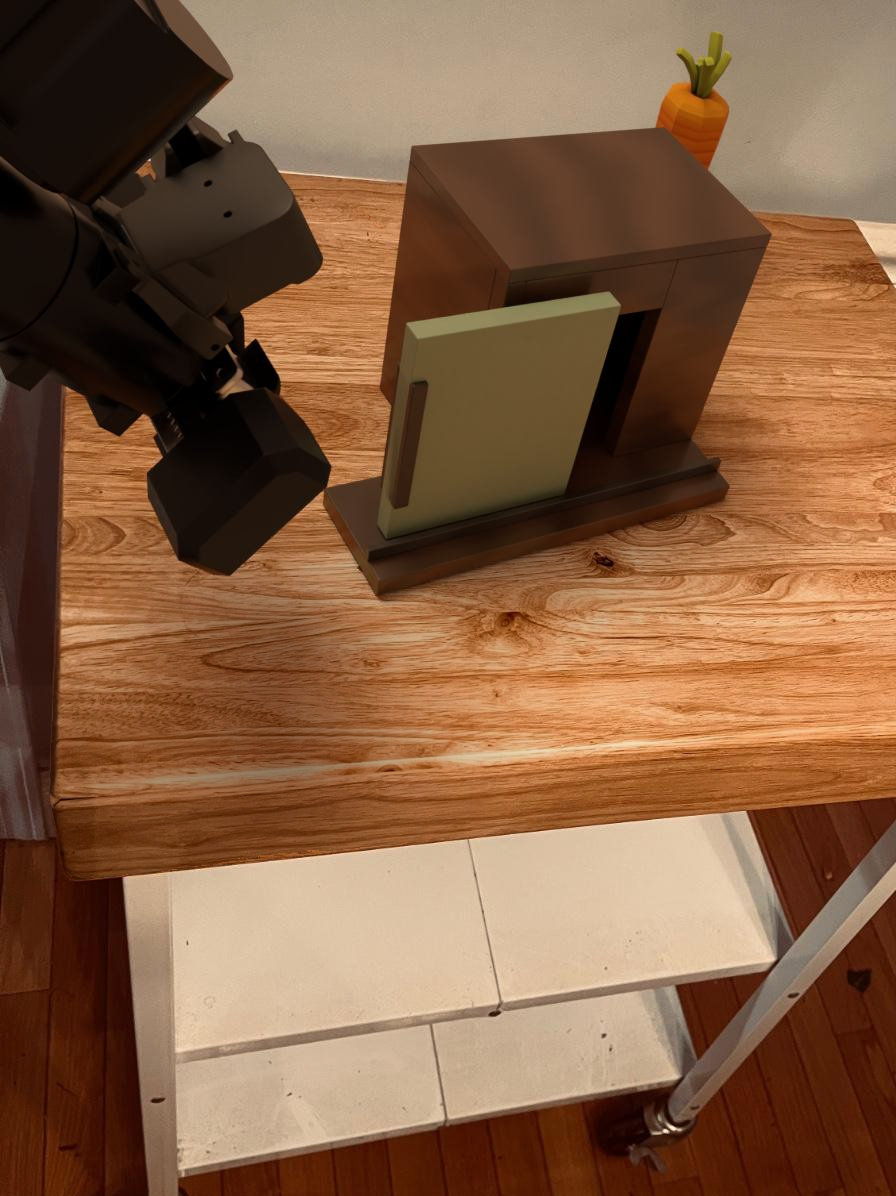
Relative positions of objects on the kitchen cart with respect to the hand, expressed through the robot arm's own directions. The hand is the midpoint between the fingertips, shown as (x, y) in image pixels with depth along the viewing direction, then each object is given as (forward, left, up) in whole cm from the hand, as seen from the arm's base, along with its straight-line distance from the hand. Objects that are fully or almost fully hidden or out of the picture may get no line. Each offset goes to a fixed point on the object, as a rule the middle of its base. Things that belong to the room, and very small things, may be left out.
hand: (305, 442), depth 54 cm
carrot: (+38, +23, -9) cm, 45 cm away
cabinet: (+15, +5, -9) cm, 18 cm away
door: (+10, 0, -7) cm, 13 cm away
